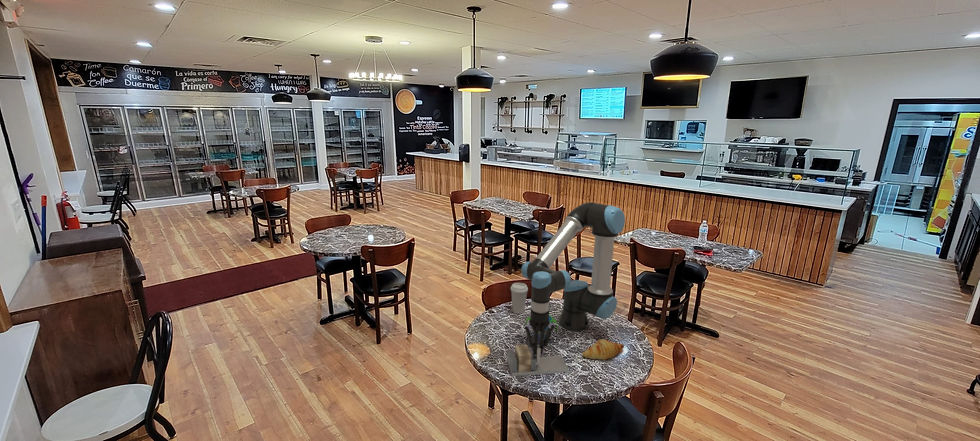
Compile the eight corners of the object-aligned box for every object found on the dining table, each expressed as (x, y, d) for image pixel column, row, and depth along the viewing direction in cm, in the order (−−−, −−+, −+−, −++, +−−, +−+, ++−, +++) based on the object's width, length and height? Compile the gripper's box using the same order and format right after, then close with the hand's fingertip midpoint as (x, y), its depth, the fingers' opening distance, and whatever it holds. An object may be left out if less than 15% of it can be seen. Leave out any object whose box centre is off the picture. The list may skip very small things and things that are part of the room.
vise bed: (561, 358, 178) (561, 355, 178) (568, 372, 169) (568, 368, 169) (507, 362, 175) (507, 359, 175) (511, 376, 165) (511, 373, 165)
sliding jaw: (533, 354, 178) (534, 344, 177) (540, 369, 167) (541, 358, 166) (520, 355, 177) (520, 345, 176) (526, 370, 166) (526, 359, 165)
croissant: (585, 368, 177) (591, 359, 172) (575, 348, 184) (580, 338, 179) (625, 359, 184) (632, 349, 179) (614, 340, 191) (620, 330, 186)
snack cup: (557, 333, 200) (559, 314, 197) (556, 344, 190) (557, 324, 187) (526, 329, 203) (527, 310, 200) (523, 340, 193) (523, 320, 190)
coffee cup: (530, 311, 223) (531, 285, 219) (519, 316, 216) (520, 290, 212) (517, 305, 229) (518, 280, 225) (506, 311, 222) (506, 285, 219)
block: (526, 359, 175) (526, 344, 173) (530, 370, 167) (531, 355, 165) (514, 360, 174) (515, 345, 172) (518, 371, 166) (519, 355, 165)
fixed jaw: (512, 359, 175) (512, 349, 173) (516, 371, 166) (516, 361, 165) (507, 359, 174) (507, 349, 173) (511, 372, 166) (512, 361, 164)
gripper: (552, 304, 170) (549, 354, 176) (522, 306, 168) (520, 357, 174) (558, 312, 163) (555, 364, 168) (526, 314, 161) (524, 367, 167)
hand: (537, 360), depth 171 cm, fingers closed
